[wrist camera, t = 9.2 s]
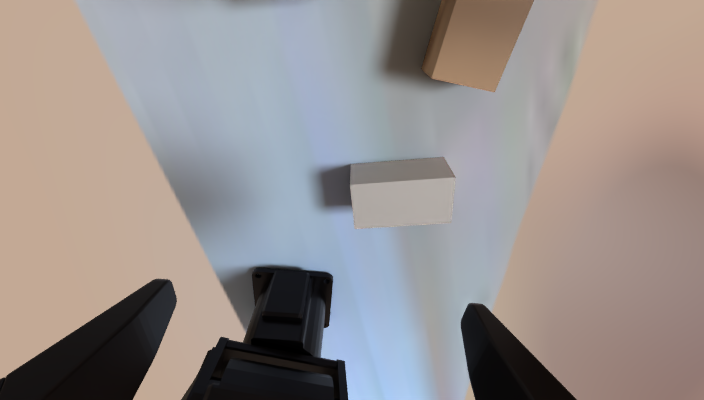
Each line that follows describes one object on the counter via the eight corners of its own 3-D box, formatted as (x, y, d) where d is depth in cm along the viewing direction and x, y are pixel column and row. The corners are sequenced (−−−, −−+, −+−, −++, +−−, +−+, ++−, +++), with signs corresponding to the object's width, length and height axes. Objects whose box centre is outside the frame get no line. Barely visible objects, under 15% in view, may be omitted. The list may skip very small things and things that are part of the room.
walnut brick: (474, 80, 18) (494, 92, 15) (420, 68, 17) (431, 78, 15) (526, -52, 14) (562, -66, 12) (461, -70, 14) (484, -87, 12)
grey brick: (443, 155, 20) (455, 177, 17) (440, 197, 22) (451, 223, 19) (350, 162, 20) (350, 184, 18) (355, 203, 22) (354, 229, 20)
